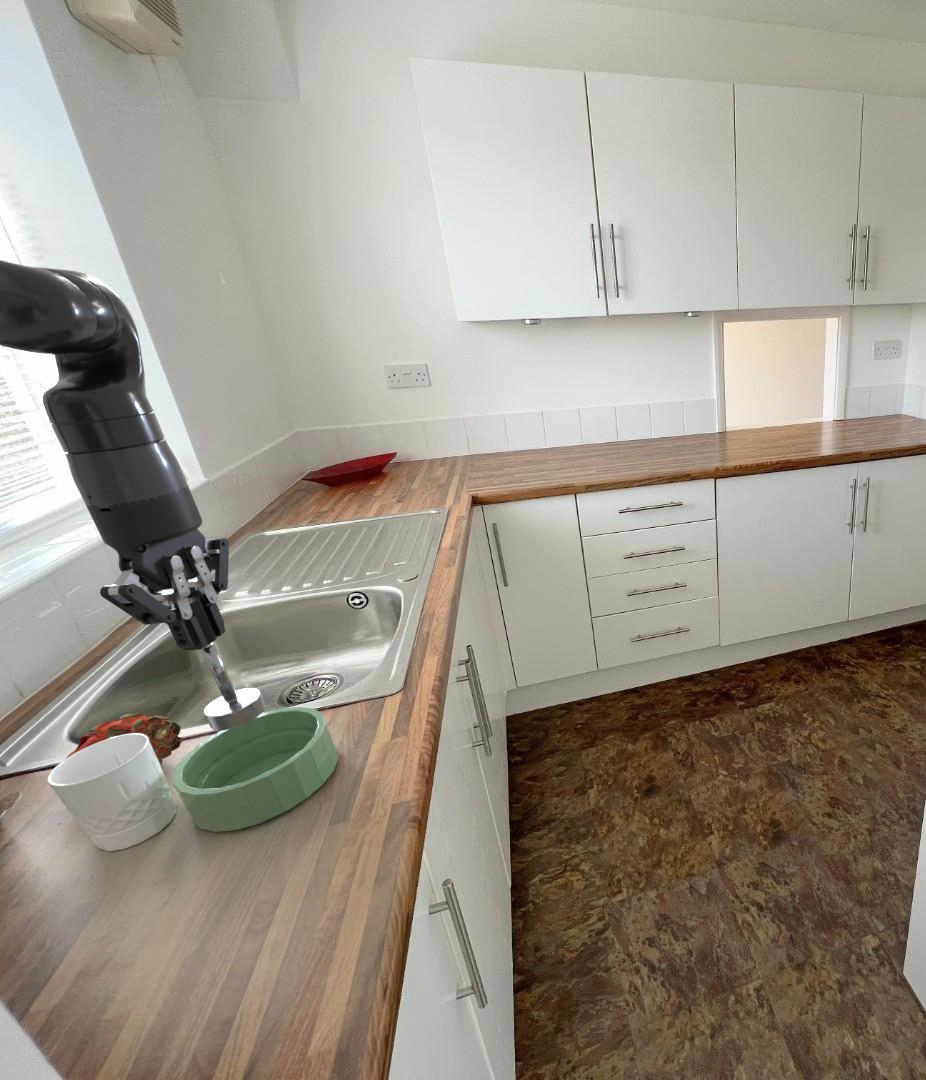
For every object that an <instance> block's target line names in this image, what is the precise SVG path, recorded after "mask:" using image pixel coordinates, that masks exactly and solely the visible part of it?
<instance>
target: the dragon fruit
mask: <svg viewBox="0 0 926 1080" xmlns="http://www.w3.org/2000/svg"><path fill="white" fill-rule="evenodd" d="M118 719H119V720H107V721H104V722H101V723H99V724H97V725H95V726H93V727H92V728H91V729H89V733H87V734H85V735H82V736H81V737H80V738H79V743H78V744H77V746H76V747H75V749H74V750H73V751H72V752H70V753H69V754H68V755H67V756H66V757H65V759H66V758H68V757H70V756H71V755H73V754H75V753H76V752H78V751H80V750H82V749H84V748H86V747H88V746H90V745H93V744H95V743H98V742H100V741H103V740H106V739H109V738H112V737H116V736H120V735H125V734H133V733H139V734H144V735H146V736H147V737H148V738H149V740H150V743H151V745H152V747H153V750H154V752H155V754H156V756H157V759H158V761H159V763H160V765H161V764H162V763H163V759H166V758H169V757H170V756H171V755H172V754H173V753H172V752H173V751H176V750H177V749H179V748H180V747H181V744H182V743H183V740H184V738H182V737H180V736H179V735H180V733H181V729H182V726H181V725H179V724H178V723H177V722H175V721H171V719H170V718H168V717H167V716H162V715H157V714H149V715H148V716H146V715H145V714H144V713H125V714H123V715H121V716H119V717H118ZM65 759H64V760H65ZM64 760H63V761H64Z"/></svg>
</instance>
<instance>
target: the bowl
mask: <svg viewBox="0 0 926 1080" xmlns="http://www.w3.org/2000/svg"><path fill="white" fill-rule="evenodd" d="M338 753H339V752H338V750H337V747H336V744H335V741H334V738H333V735H332V734H331V731H330V728H329V726H328V723H327V721H326V717H325V715H324V714H323V713H321V712H320V711H319V710H317V709H315V708H309V707H303V706H296V707H295V706H294V707H282V708H277V709H275V710H273V709H272V710H269V711H264V712H263V713H262V714H261V715H260V716H258V717H257V718H255V719H254V720H252V721H250V722H249V723H247V724H244V725H242V726H239V727H236V728H233V729H229V730H223V731H217V732H216V733H215V734H213V735H211V736H210V737H208V738H207V739H205V740H204V741H202V742H201V743H199V744H198V745H196V747H194V748H193V749H192V750H191V751H190V752H189V753H187V755H185V756H184V757H183V758H182V759H181V760H180V762H179V764H178V765H177V767H176V768H175V769H174V771H173V777H172V786H173V788H174V790H175V791H176V793H177V795H178V797H179V799H180V801H181V803H182V804H183V807H184V809H185V811H186V812H187V814H188V816H189V818H190V820H191V821H192V822H193V824H194V825H195V826H196V827H197V828H198V829H201V830H205V831H209V832H212V833H216V832H217V833H218V832H228V831H229V832H230V831H238V830H240V829H241V830H242V829H244V828H248V827H252V826H256V825H259V824H261V823H264V822H266V821H268V820H271V819H273V818H275V817H277V816H279V815H282V814H283V813H285V812H287V811H289V810H290V809H292V808H294V807H295V806H297V805H299V804H300V803H301V802H303V801H305V800H307V799H308V798H309V797H311V795H312V794H314V793H315V792H316V791H317V790H318V789H320V787H322V786H323V785H324V784H325V783H326V781H327V780H328V779H329V778H330V777H331V775H332V773H333V772H334V771H335V769H336V765H337V763H338V760H339V754H338Z"/></svg>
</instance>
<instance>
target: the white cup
mask: <svg viewBox="0 0 926 1080" xmlns="http://www.w3.org/2000/svg"><path fill="white" fill-rule="evenodd" d="M167 779H168V778H167V777H166V775H165V773H164V769H163V767H162V765H161V764H160V763H159V761H158V759H157V756H156V754H155V752H154V750H153V747H152V745H151V743H150V740H149V738H148V737H147V736H146V735H144V734H139V733H133V734H125V735H120V736H116V737H112V738H109V739H106V740H103V741H100V742H98V743H95V744H93V745H90V746H88V747H86V748H84V749H82V750H80V751H78V752H76V753H75V754H73V755H71V756H70V757H68V758H66V757H65V760H62V761H61V762H60V763H58V764H57V765H56V766H55V767H54V768H53V769H52V770H51V771H50V772H49V774H48V775H47V778H46V782H47V783H48V785H49V786H50V788H51V789H52V790H53V792H54V794H56V795H57V797H58V799H59V800H60V801H61V803H62V804H63V805H64V806H65V808H66V809H67V811H68V812H69V813H70V815H71V816H72V817H73V818H74V819H75V821H76V822H77V823H78V825H79V826H80V828H82V830H84V832H86V833H87V834H88V836H89V837H90V839H91V840H92V841H93V843H94V844H95V845H96V847H97V848H98V849H99V850H102V851H104V852H115V851H121V850H125V849H128V848H131V847H133V846H136V845H139V844H141V843H143V842H145V841H146V840H148V839H150V838H151V837H154V836H155V835H156V834H158V833H159V832H161V831H162V830H163V829H164V828H166V827H167V826H168V825H169V824H170V823H171V822H172V821H173V819H174V818H175V816H176V814H177V813H178V809H177V804H176V802H175V800H174V798H173V796H172V793H171V787H170V785H169V783H168V780H167Z"/></svg>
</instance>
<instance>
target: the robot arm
mask: <svg viewBox="0 0 926 1080" xmlns="http://www.w3.org/2000/svg"><path fill="white" fill-rule="evenodd" d="M0 347H2V348H6V349H9V350H13V351H14V350H15V351H19V352H25V353H28V354H35V355H47V356H53V358H54V363H55V368H56V372H57V381H56V383H54V384H53V385H51V386H49V387H48V388H47V389H46V390H45V391H44V392H42V396H41V404H42V408H43V410H44V413H45V416H46V418H47V420H48V422H49V424H50V426H51V428H52V430H53V432H54V434H55V436H56V438H57V440H58V443H59V444H60V446H61V449H62V451H63V453H64V455H65V458H66V460H67V464H68V466H69V471H70V474H71V477H72V480H73V482H74V484H75V486H76V488H77V490H78V492H79V494H80V496H81V499H82V500H83V503H84V505H85V506H86V509H87V510H88V512H89V514H90V517H91V519H92V521H93V523H94V525H95V527H96V529H97V531H98V533H99V535H100V537H101V540H102V542H103V543H104V544H105V545H106V546H108V547H110V548H112V549H113V550H114V551H116V553H117V556H118V569H119V570H120V572H121V573H120V574H119V576H118V577H117V578H116V580H115V582H114V583H113V584H110V585H109V584H108V585H103V586H102V587H101V588H100V589H99V594H100V596H101V597H102V598H103V599H105V600H107V602H108V603H111V604H112V605H114V606H115V607H117V608H118V609H120V610H121V611H123V612H125V613H127V615H129V616H131V618H133V619H135V620H137V621H138V622H140V623H141V624H142V625H146V626H147V625H148V626H149V625H154V624H155V625H156V624H166V625H167V626H168V628H169V631H170V633H171V635H172V637H173V639H174V641H175V643H176V645H177V647H179V648H180V649H182V650H184V651H201V649H202V648H203V647H205V646H206V645H207V641H206V638H205V636H204V634H203V632H202V629H201V627H200V625H199V623H198V621H197V618H196V616H192V610H191V607H190V604H189V601H188V598H191V597H199V598H200V600H201V602H202V604H203V606H204V609H205V611H206V613H207V616H208V618H209V620H210V622H211V625H212V627H213V629H214V632H215V634H216V636H217V638H219V637H221V636H222V635H223V634H225V633H226V628H225V620H224V618H223V616H222V614H221V611H220V609H219V606H218V605H217V602H218V600H219V596H218V595H219V594H220V593H221V592H224V591H226V590H227V589H228V587H229V561H230V560H229V559H230V558H229V557H230V556H229V555H230V554H229V553H230V552H229V551H230V542H229V540H228V539H227V538H226V537H221V538H220V537H219V538H208V537H206V536H205V535H204V533H202V532H201V531H200V530H199V528H200V527H201V526H202V524H203V518H202V516H201V513H200V510H199V509H198V506H197V504H196V501H195V499H194V497H193V494H192V491H191V489H190V486H189V484H188V482H187V479H186V477H185V475H184V473H183V470H182V468H181V465H180V463H179V461H178V459H177V456H176V455H175V454H174V453H173V451H172V449H171V447H170V445H169V443H168V442H167V439H166V438H165V435H164V433H163V430H162V428H161V425H160V423H159V420H158V418H157V415H156V413H155V412H154V409H153V407H152V405H151V403H150V400H149V398H148V397H147V391H146V377H145V375H146V374H145V368H144V367H145V366H144V361H143V355H142V347H141V342H140V337H139V333H138V329H137V325H136V323H135V320H134V318H133V315H132V314H131V312H130V310H129V309H128V307H127V305H126V304H125V302H124V301H123V300H122V298H121V297H120V296H119V295H118V294H117V292H115V290H114V289H112V287H110V286H109V285H107V284H106V283H104V282H103V281H102V280H100V279H98V278H96V277H95V276H92V275H90V274H88V273H84V272H80V271H75V270H69V269H59V268H48V267H38V266H37V267H36V266H28V265H22V264H18V263H13V262H11V261H10V262H9V261H5V260H2V259H0ZM212 571H214V577H213V574H212ZM170 602H172V604H173V606H174V608H172V605H171V603H170Z"/></svg>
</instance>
